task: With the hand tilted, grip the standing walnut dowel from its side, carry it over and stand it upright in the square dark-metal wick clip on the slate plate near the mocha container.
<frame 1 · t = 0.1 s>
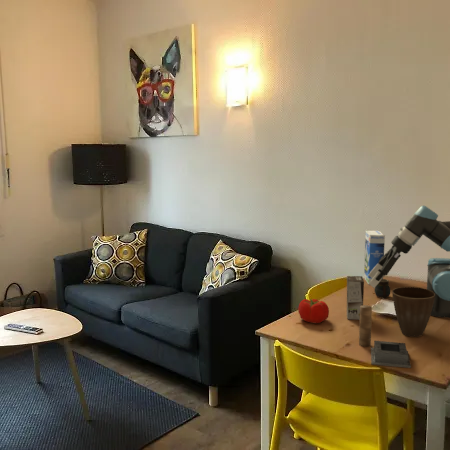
hand: (370, 281, 201), 15 cm above the table, tool tilted 35°, fingers open, 13 cm apart
mate gourd: (381, 297, 231), on the table
coffee box: (354, 316, 205), on the table
wick clip: (389, 358, 164), on the table
plant pot: (411, 333, 186), on the table
wood wick: (364, 344, 176), on the table
string lights box: (373, 281, 257), on the table
tomato: (313, 321, 201), on the table
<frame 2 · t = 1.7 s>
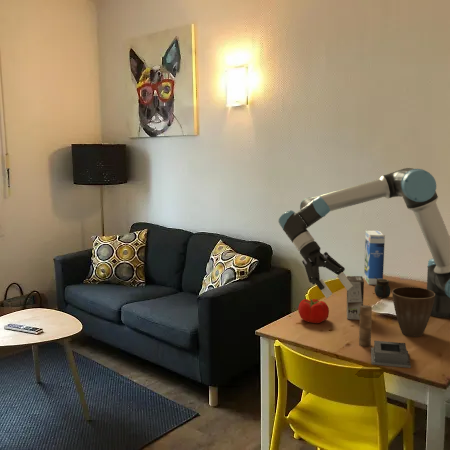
hand: (340, 292, 180), 17 cm above the table, tool tilted 45°, fingers open, 13 cm apart
nothing on the table moved.
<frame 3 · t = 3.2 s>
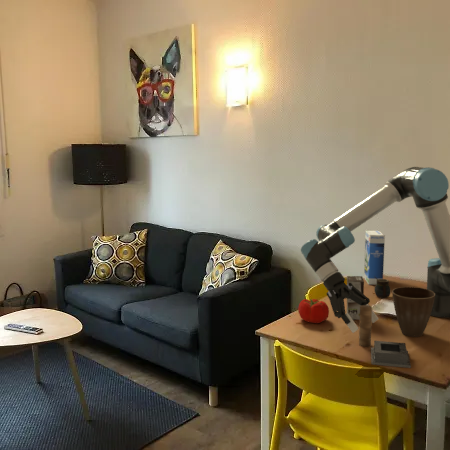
hand: (366, 325, 174), 7 cm above the table, tool tilted 45°, fingers open, 13 cm apart
nothing on the table moved.
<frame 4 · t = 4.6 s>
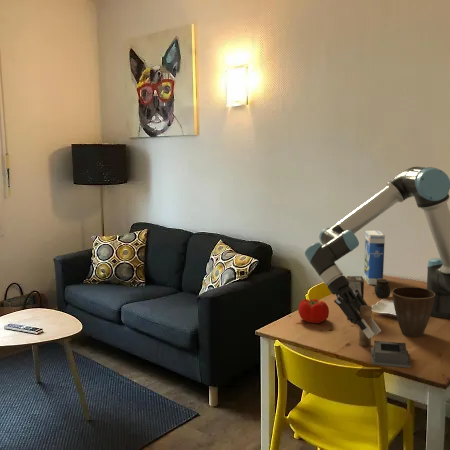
hand: (375, 334, 172), 5 cm above the table, tool tilted 45°, fingers closed on wood wick, 4 cm apart
wood wick: (364, 344, 176), on the table, touching gripper
everything else where it was.
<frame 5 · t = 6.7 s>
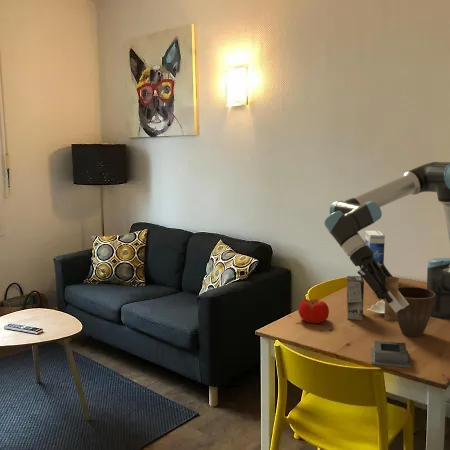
hand: (402, 308, 159), 18 cm above the table, tool tilted 45°, fingers closed on wood wick, 4 cm apart
wood wick: (390, 319, 162), point 13 cm above the table, touching gripper
everything else where it was.
when the fingers open (7 cm above the table, at t = 9.0 s): wood wick drops 1 cm, resting on wick clip.
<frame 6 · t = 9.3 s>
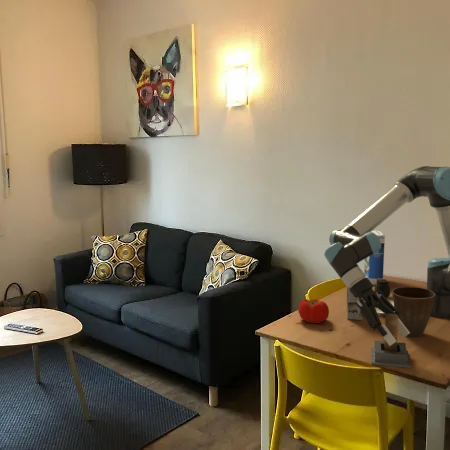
hand: (400, 339, 161), 8 cm above the table, tool tilted 45°, fingers open, 9 cm apart
wood wick: (389, 356, 164), point 1 cm above the table, touching wick clip
everything else where it was.
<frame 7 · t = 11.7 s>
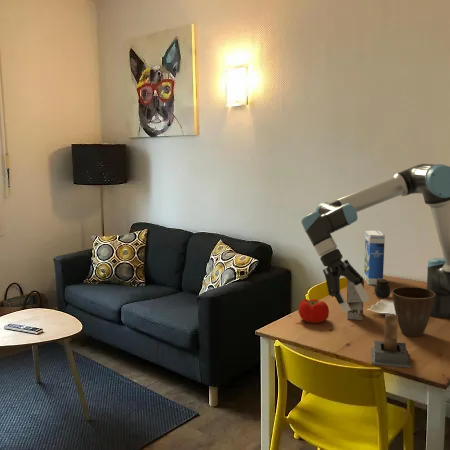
hand: (357, 306, 174), 14 cm above the table, tool tilted 35°, fingers open, 13 cm apart
nothing on the table moved.
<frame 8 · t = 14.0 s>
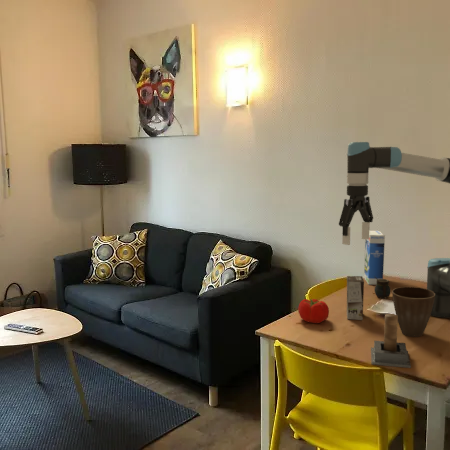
hand: (356, 241, 184), 35 cm above the table, tool pointing down, fingers open, 13 cm apart
nothing on the table moved.
at the end: wood wick 0.1 cm off-centre on the wick clip, point 0.8 cm above the wick clip's base; wood wick tilted 0°; the gripper is holding nothing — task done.
